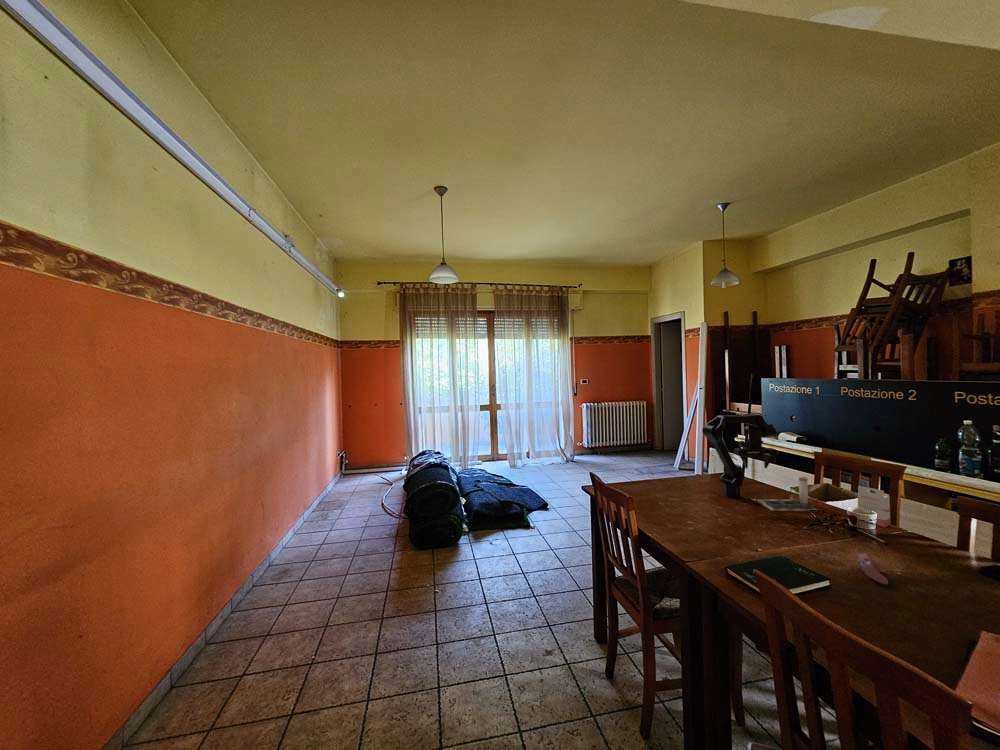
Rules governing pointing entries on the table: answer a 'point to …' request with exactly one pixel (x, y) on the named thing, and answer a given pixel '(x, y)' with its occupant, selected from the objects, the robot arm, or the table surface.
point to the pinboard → (786, 504)
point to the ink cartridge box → (875, 504)
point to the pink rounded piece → (872, 568)
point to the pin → (803, 491)
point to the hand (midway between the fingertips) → (755, 468)
